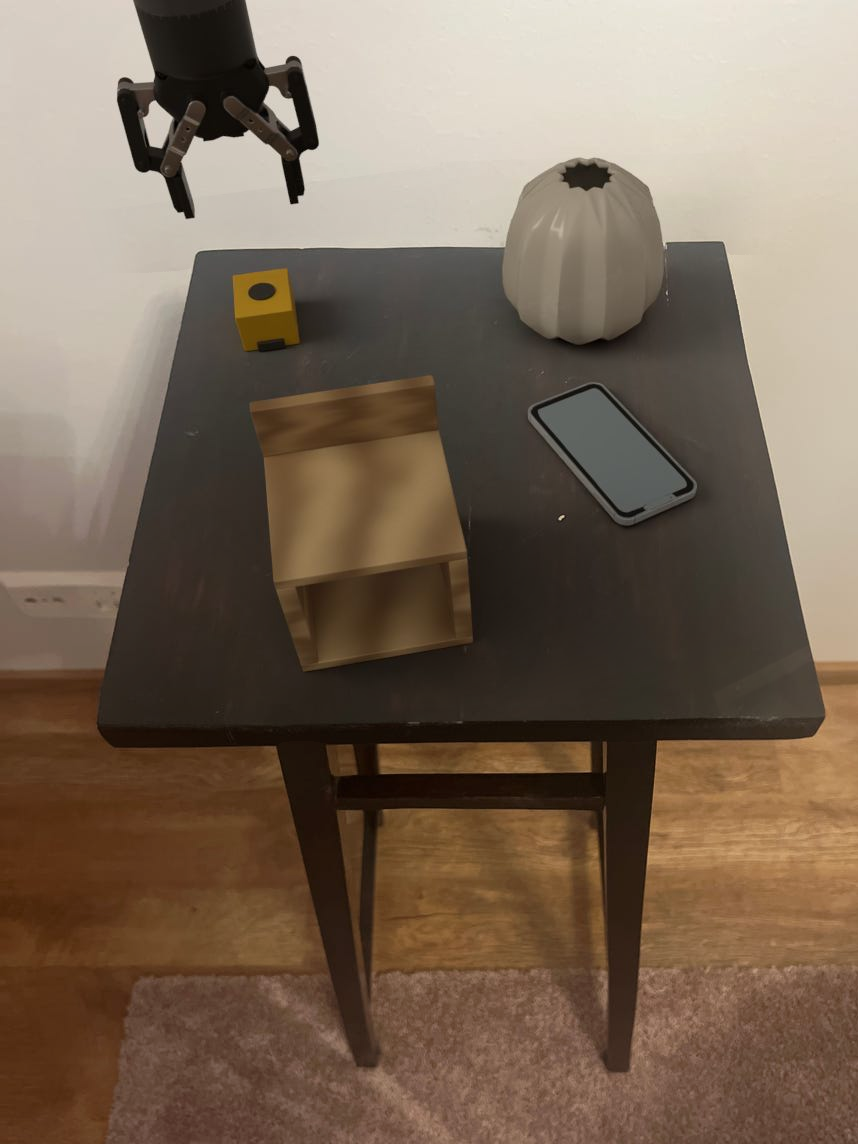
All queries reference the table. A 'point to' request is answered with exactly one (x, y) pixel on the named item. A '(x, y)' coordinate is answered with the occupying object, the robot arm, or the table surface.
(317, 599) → the shelf
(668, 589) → the table surface
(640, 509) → the smartphone
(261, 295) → the measuring tape
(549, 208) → the vase
